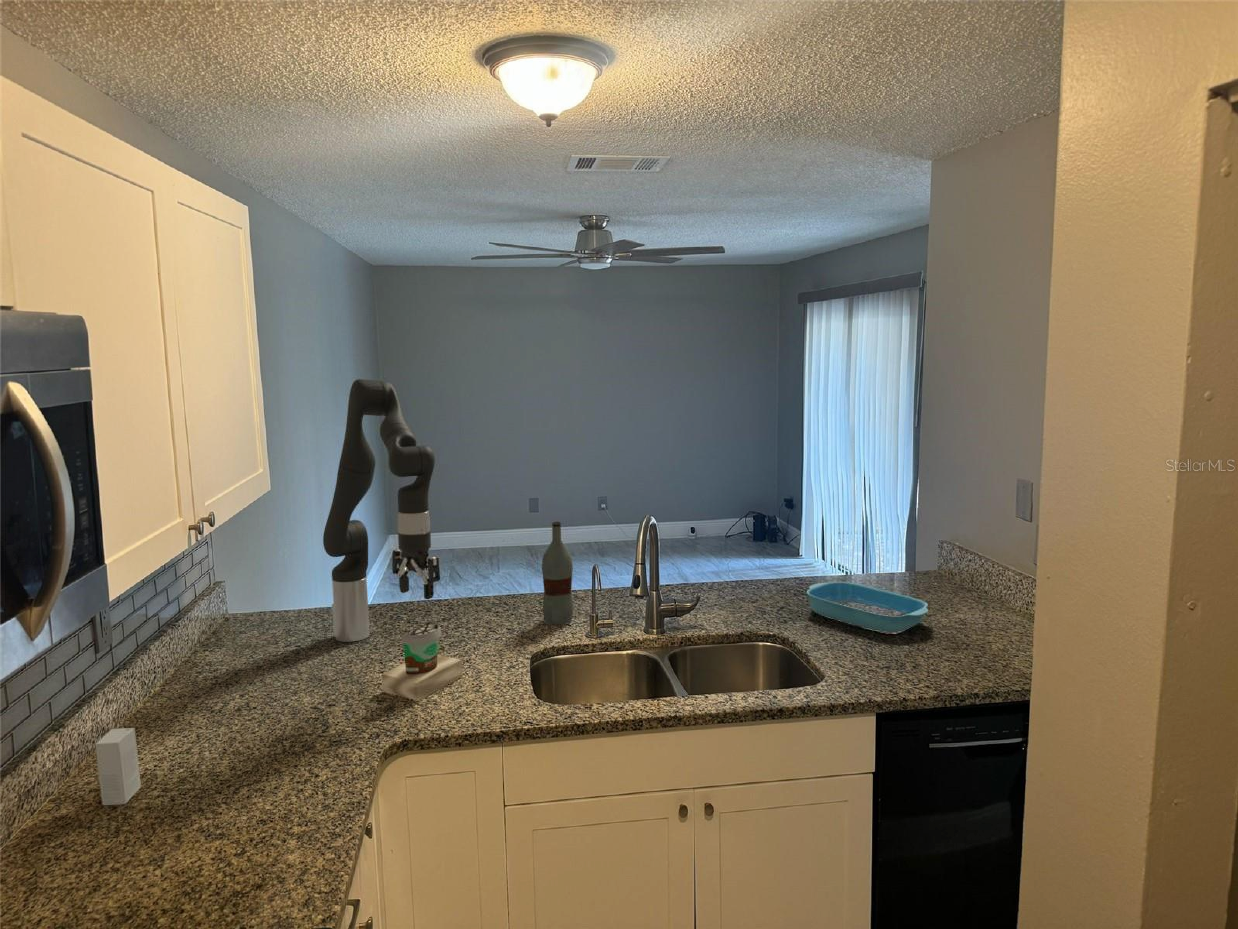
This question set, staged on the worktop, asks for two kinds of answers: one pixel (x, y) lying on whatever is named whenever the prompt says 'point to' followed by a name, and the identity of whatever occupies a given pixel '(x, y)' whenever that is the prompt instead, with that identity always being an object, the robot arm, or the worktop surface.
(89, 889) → the worktop surface
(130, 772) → the skincare box
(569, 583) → the bottle
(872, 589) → the casserole dish
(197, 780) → the worktop surface
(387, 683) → the maple block
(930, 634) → the worktop surface
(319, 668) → the worktop surface
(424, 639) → the food container
